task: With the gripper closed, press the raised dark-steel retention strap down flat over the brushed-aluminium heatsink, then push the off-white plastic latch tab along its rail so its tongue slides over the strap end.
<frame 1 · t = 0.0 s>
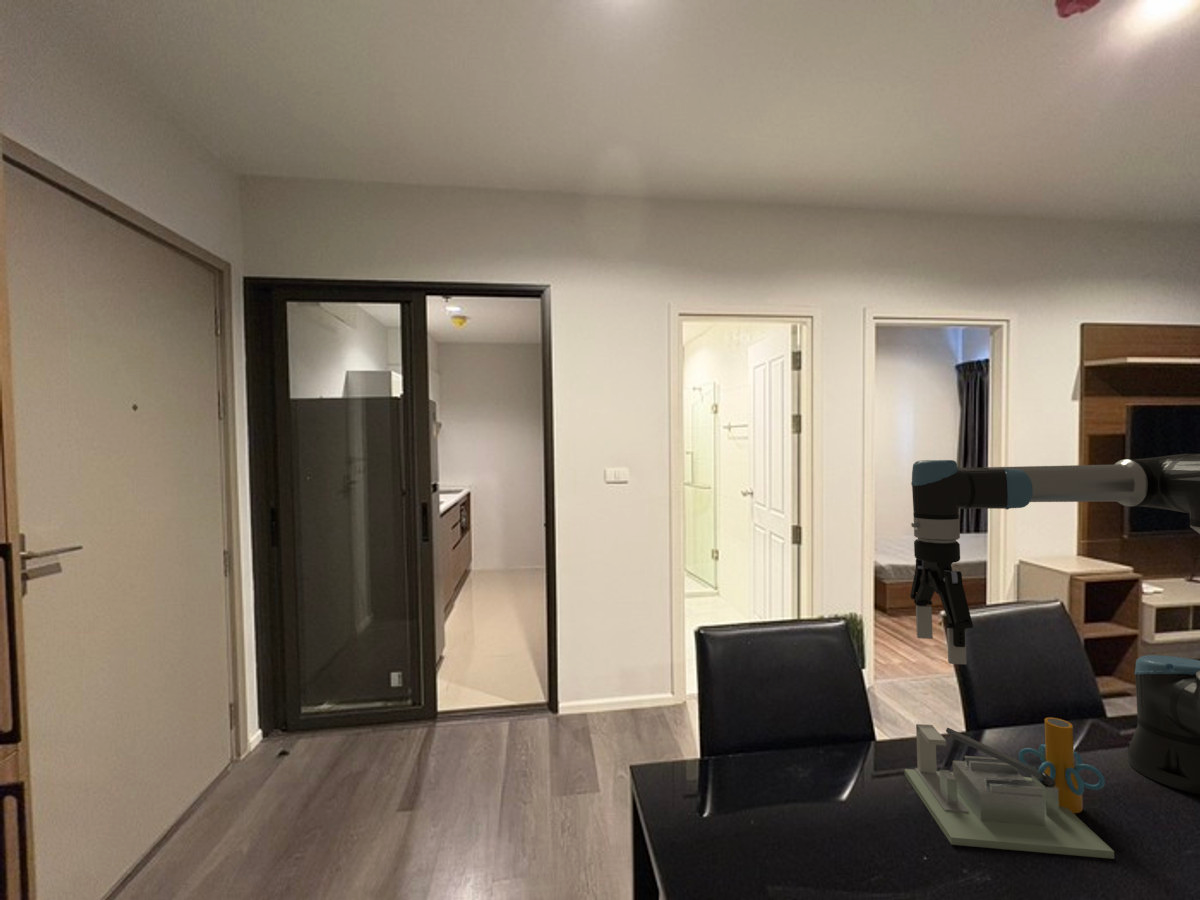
hand: (939, 650, 103), 28 cm above the table, fingers open, 13 cm apart
strap: (998, 754, 98), point 10 cm above the table, hinge at 24.3°, touching cylinder
cylinder: (1061, 804, 100), on the table, touching board, heatsink, strap
latch: (931, 754, 107), point 6 cm above the table, slide at 0.0 cm
heatsink: (996, 788, 98), on the board, point 4 cm above the table
board: (996, 811, 98), on the table
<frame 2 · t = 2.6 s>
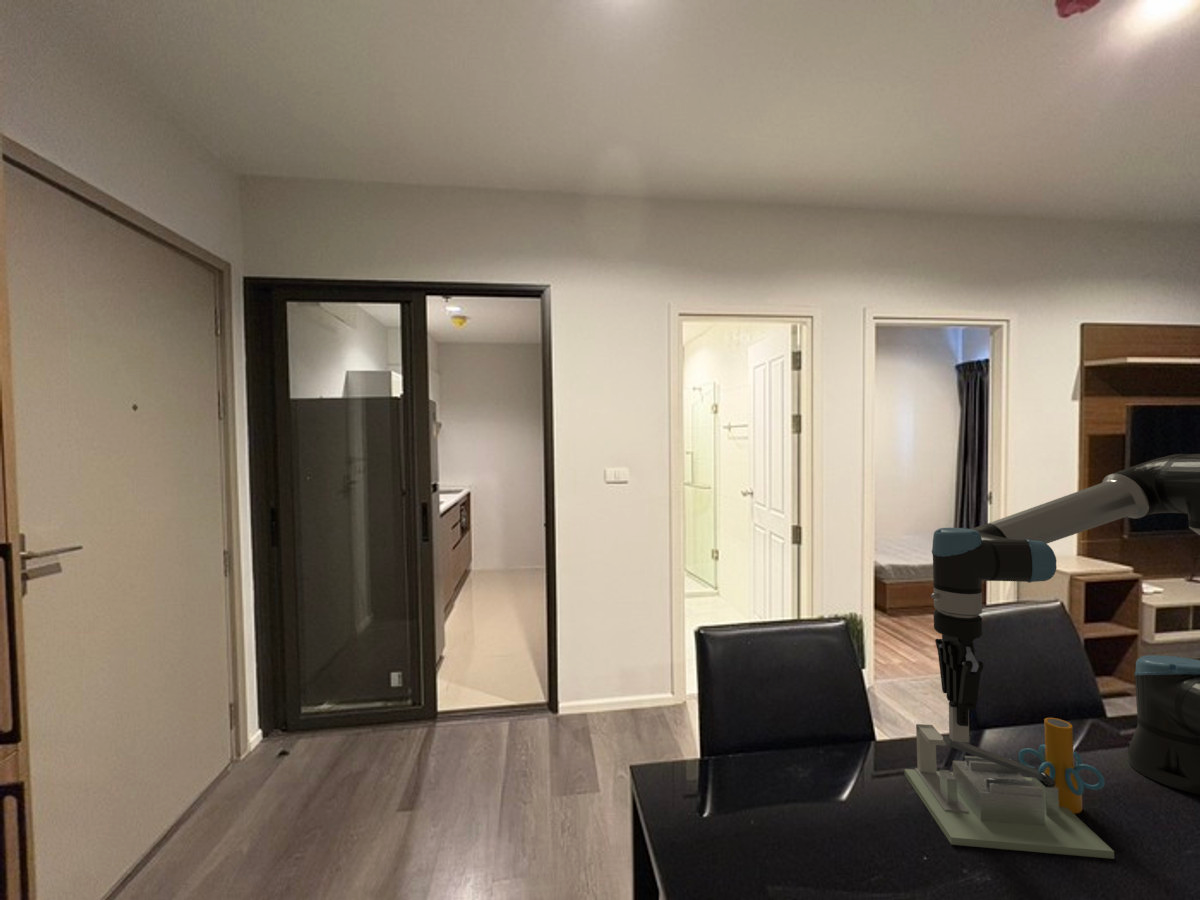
hand: (959, 739, 99), 13 cm above the table, fingers closed
strap: (996, 758, 98), point 10 cm above the table, hinge at 18.7°, touching cylinder, gripper
everything else where it was.
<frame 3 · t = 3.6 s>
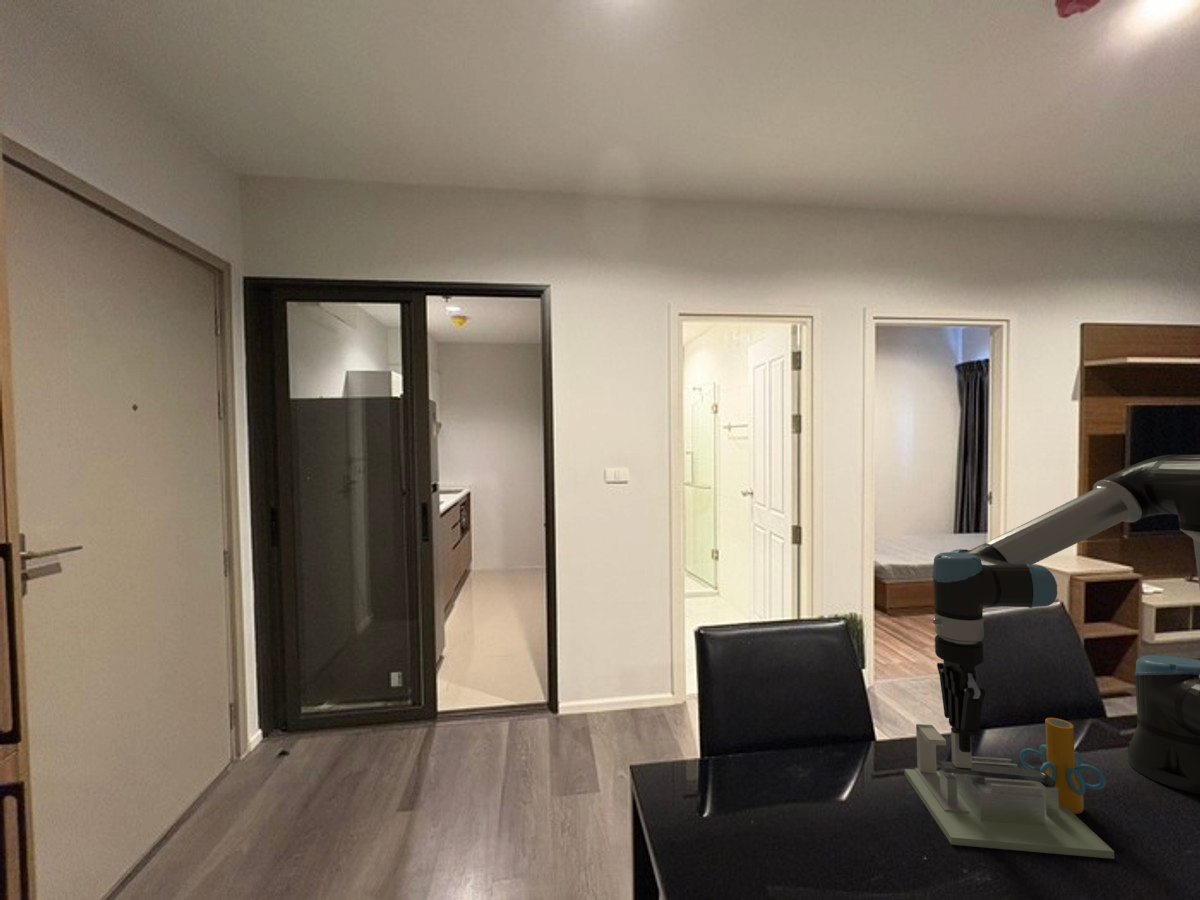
hand: (961, 765, 99), 8 cm above the table, fingers closed
strap: (994, 771, 98), point 7 cm above the table, hinge at 2.1°, touching cylinder, gripper
everything else where it was.
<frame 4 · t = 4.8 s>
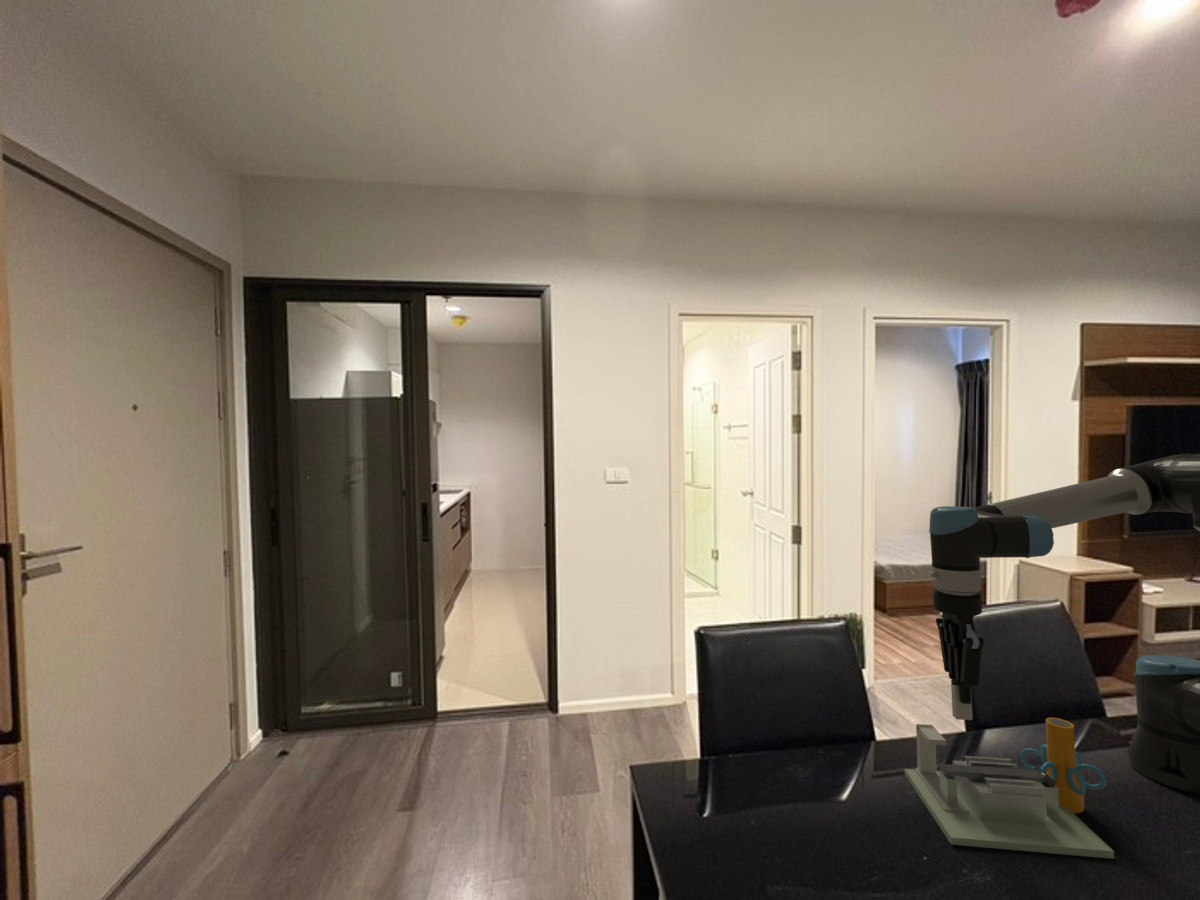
hand: (962, 717, 99), 17 cm above the table, fingers closed
strap: (994, 773, 98), point 7 cm above the table, hinge at 0.1°, touching cylinder
everything else where it was.
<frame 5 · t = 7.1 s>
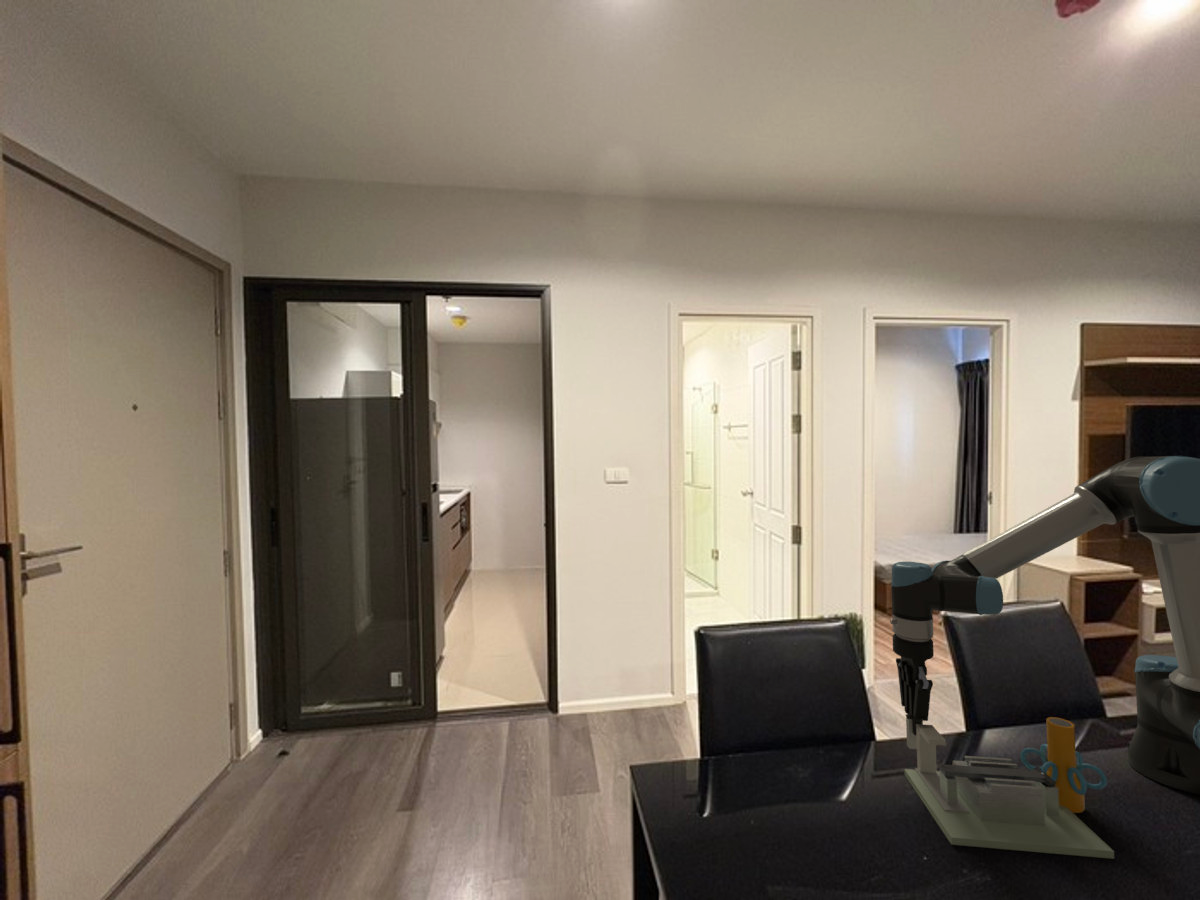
hand: (915, 747, 114), 3 cm above the table, fingers closed
nothing on the table moved.
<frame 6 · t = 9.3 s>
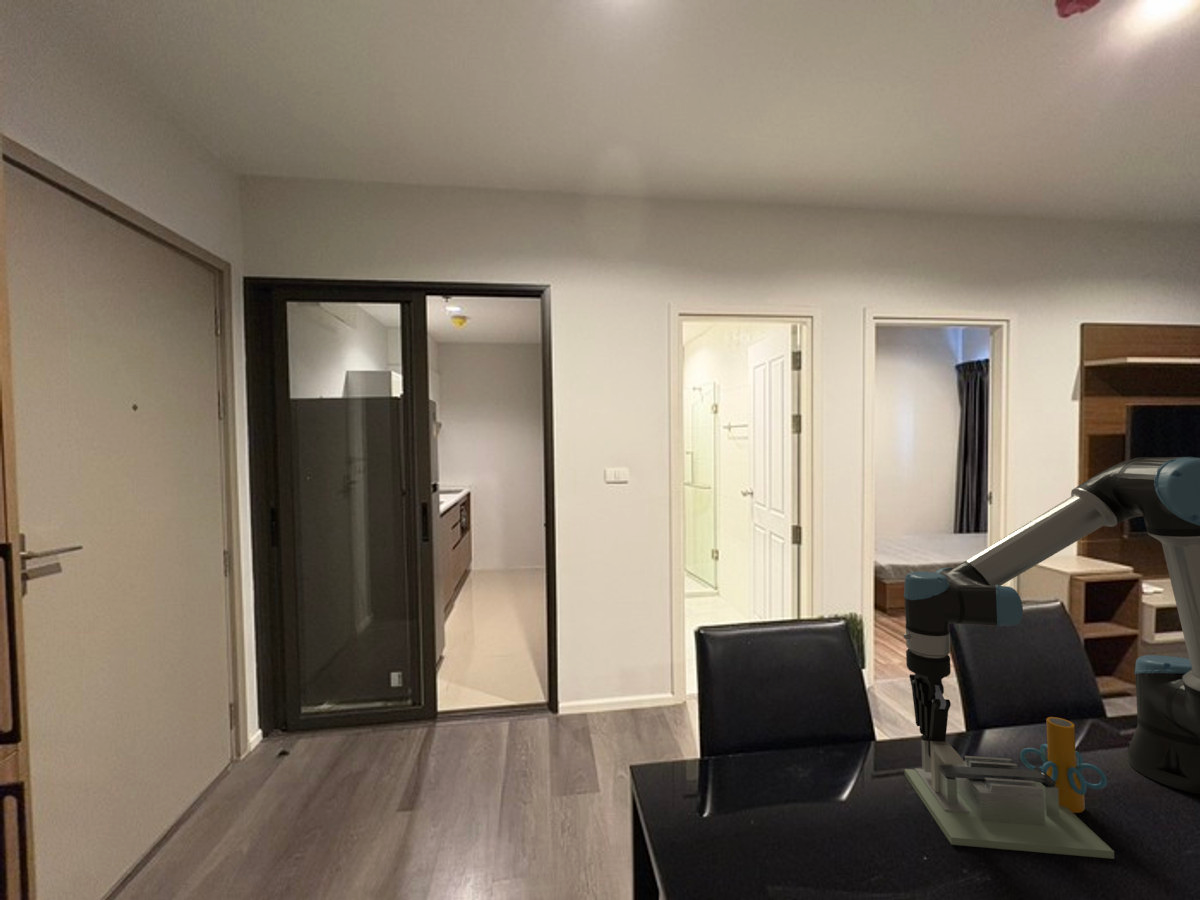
hand: (931, 770, 107), 3 cm above the table, fingers closed
strap: (994, 773, 98), point 7 cm above the table, hinge at -0.9°, touching cylinder
latch: (946, 773, 100), point 6 cm above the table, slide at 6.5 cm, touching hand
everything else where it was.
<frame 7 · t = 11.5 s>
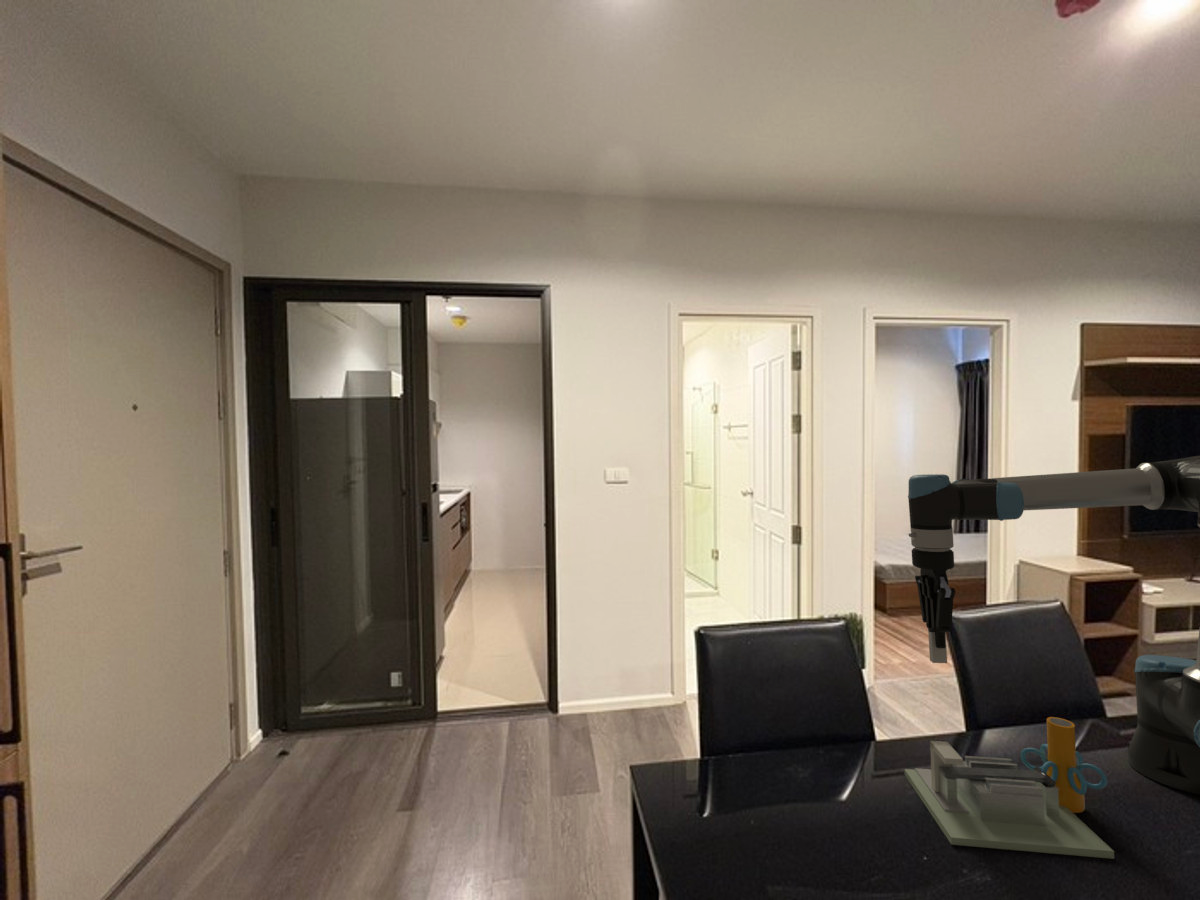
hand: (938, 661, 112), 22 cm above the table, fingers closed
strap: (994, 774, 98), point 7 cm above the table, hinge at -1.4°, touching cylinder, heatsink
latch: (946, 773, 100), point 6 cm above the table, slide at 6.5 cm
everything else where it was.
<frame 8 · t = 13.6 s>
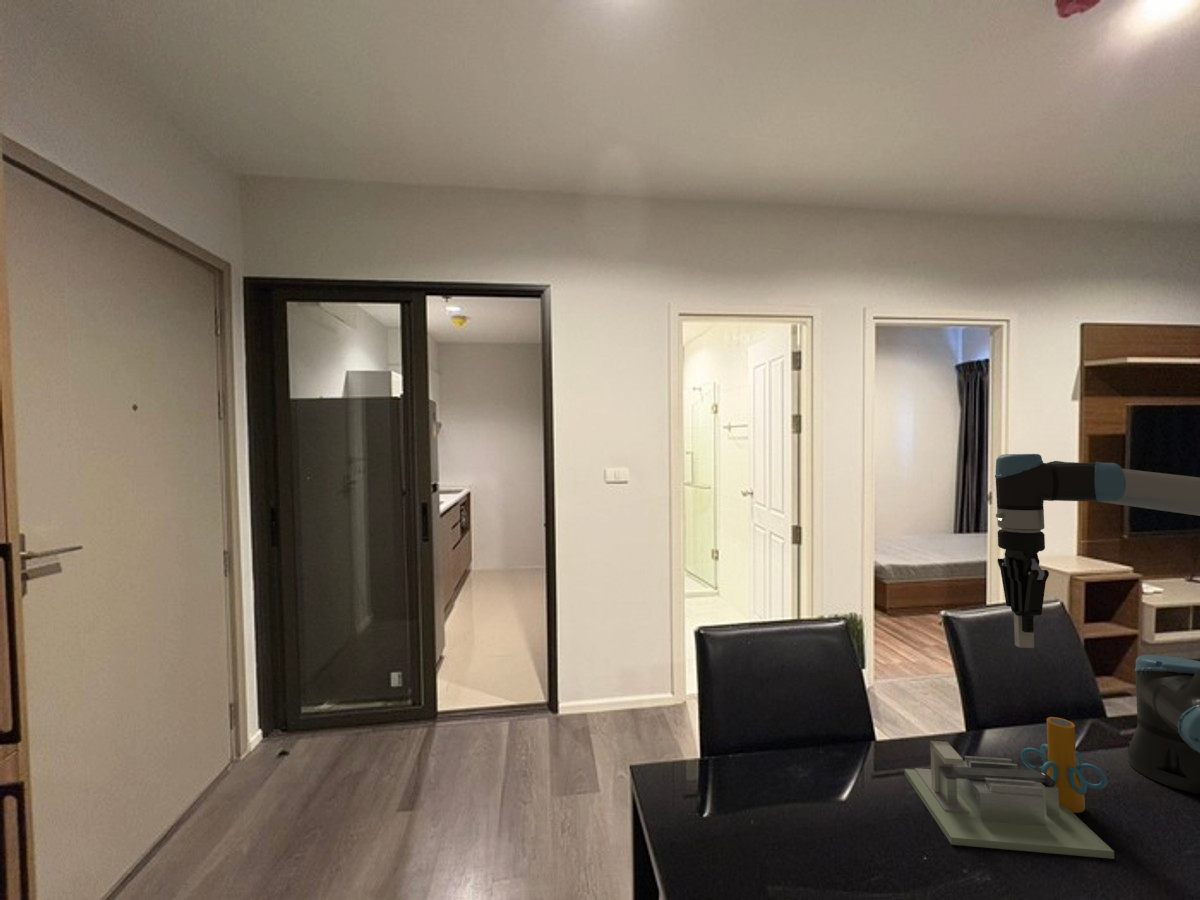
hand: (1024, 646, 108), 26 cm above the table, fingers closed
nothing on the table moved.
at the end: strap at -1° (first picture: +24°); latch slide at 6.5 cm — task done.
